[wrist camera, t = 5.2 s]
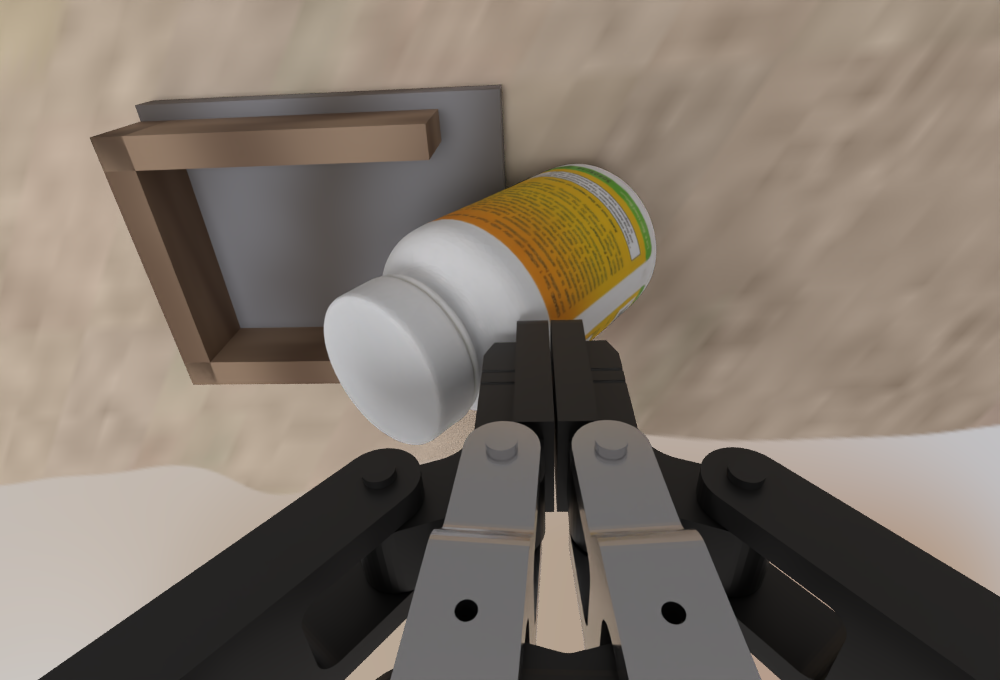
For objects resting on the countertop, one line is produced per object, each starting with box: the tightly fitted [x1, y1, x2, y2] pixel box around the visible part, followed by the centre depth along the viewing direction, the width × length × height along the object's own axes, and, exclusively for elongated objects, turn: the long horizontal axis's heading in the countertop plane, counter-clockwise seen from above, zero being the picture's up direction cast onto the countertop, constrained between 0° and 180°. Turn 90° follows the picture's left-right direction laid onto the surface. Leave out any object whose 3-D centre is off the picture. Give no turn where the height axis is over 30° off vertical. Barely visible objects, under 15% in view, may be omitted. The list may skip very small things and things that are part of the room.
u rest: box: [90, 85, 506, 385], centre depth 20 cm, size 12×10×4 cm
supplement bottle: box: [324, 164, 656, 445], centre depth 16 cm, size 5×5×10 cm
